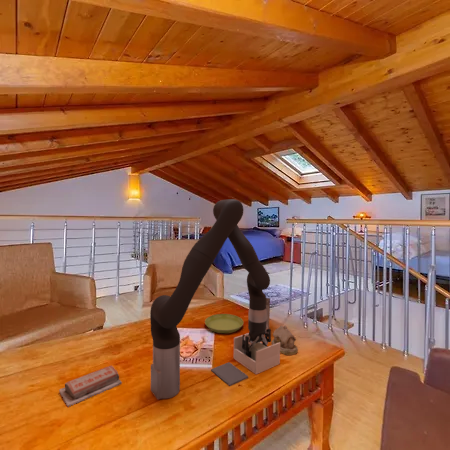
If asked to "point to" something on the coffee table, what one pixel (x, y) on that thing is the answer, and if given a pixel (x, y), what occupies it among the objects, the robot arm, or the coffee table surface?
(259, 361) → the carton
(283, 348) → the ceramic model
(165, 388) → the robot arm
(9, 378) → the coffee table surface
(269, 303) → the coffee box
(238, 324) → the saucer
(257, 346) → the box
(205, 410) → the coffee table surface
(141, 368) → the coffee table surface
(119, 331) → the coffee table surface
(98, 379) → the packaged product
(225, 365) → the mat
